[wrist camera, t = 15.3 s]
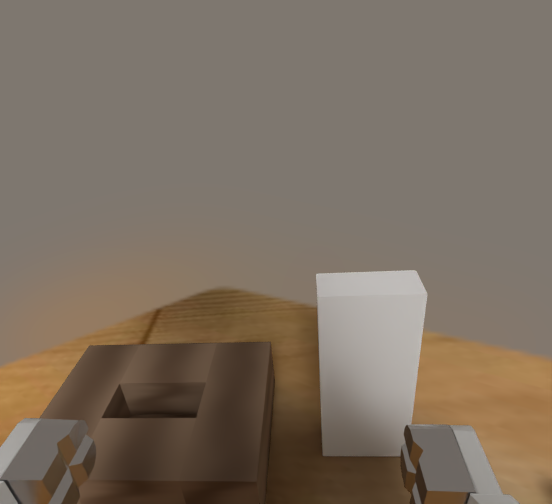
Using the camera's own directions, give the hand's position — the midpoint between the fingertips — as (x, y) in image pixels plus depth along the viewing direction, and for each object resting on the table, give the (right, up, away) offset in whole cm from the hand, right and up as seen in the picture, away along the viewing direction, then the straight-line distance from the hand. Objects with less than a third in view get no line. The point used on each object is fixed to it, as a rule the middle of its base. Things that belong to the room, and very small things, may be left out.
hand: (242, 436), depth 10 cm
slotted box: (-8, -10, +21) cm, 24 cm away
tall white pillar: (+7, -9, +20) cm, 23 cm away
